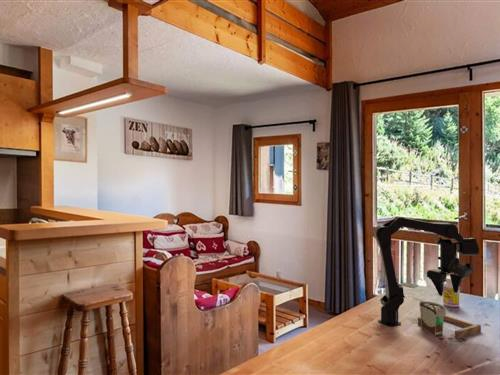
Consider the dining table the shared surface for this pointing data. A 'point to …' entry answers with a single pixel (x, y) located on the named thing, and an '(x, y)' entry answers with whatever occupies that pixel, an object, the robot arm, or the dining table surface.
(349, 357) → the dining table surface
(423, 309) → the food container
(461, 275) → the robot arm
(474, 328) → the bay
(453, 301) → the supplement bottle
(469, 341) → the dining table surface
